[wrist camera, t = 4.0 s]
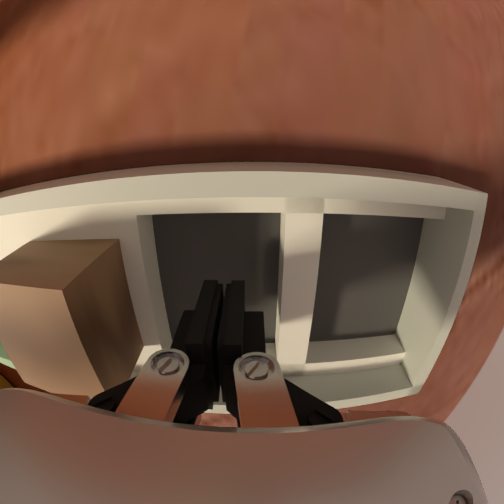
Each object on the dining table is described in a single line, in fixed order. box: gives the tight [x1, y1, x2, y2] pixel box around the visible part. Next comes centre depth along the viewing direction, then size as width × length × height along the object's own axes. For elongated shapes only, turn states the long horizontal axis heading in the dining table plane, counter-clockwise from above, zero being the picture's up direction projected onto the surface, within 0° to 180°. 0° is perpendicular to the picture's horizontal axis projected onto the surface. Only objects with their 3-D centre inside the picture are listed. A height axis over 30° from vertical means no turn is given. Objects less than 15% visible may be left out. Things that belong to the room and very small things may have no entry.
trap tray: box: [0, 162, 488, 414], centre depth 12 cm, size 12×32×4 cm, turn 90°
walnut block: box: [0, 239, 144, 399], centre depth 10 cm, size 6×6×4 cm
